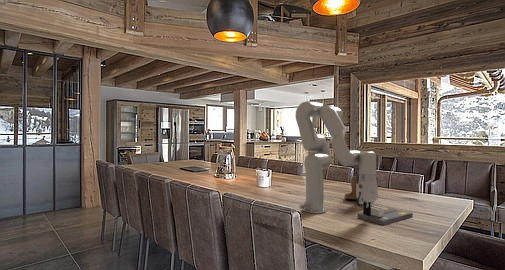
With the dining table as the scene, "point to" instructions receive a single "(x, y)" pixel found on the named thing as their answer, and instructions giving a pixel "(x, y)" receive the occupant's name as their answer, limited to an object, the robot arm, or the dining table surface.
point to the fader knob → (377, 211)
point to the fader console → (387, 216)
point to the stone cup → (353, 194)
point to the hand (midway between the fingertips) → (366, 215)
